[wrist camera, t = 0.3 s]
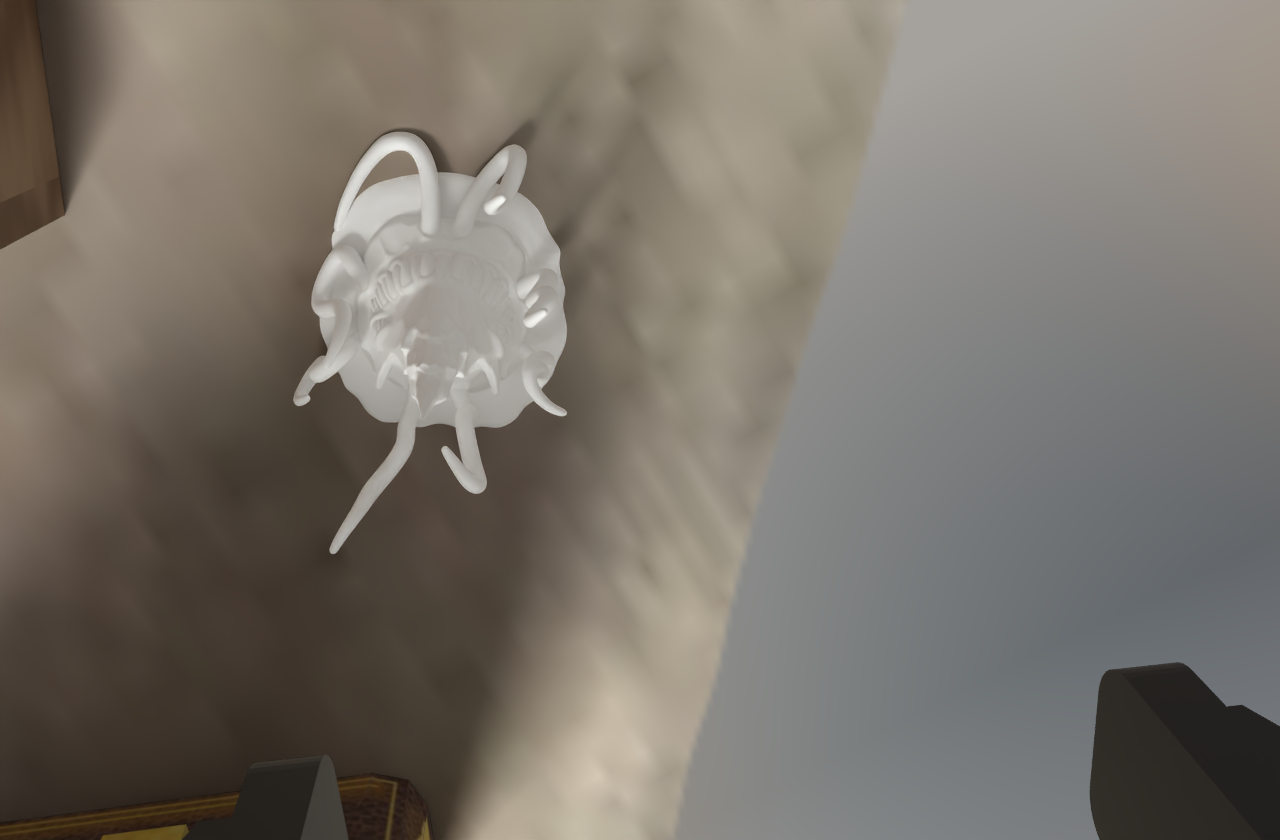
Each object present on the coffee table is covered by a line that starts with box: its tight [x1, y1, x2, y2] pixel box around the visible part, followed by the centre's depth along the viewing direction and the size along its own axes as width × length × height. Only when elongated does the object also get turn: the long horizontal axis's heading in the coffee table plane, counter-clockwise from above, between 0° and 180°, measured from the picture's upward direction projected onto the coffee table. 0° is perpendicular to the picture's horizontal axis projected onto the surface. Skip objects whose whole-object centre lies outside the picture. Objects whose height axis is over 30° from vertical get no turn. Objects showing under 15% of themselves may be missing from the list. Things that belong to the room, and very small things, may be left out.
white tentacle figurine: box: [293, 132, 567, 554], centre depth 35 cm, size 9×12×9 cm
